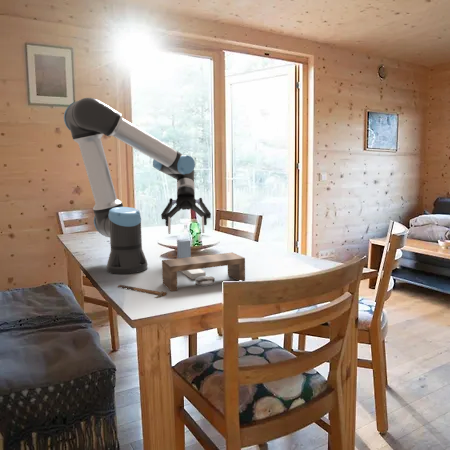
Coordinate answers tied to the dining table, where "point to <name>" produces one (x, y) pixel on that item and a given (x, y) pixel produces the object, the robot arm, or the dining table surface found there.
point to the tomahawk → (145, 290)
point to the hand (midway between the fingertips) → (186, 231)
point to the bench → (202, 266)
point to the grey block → (184, 252)
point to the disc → (205, 280)
